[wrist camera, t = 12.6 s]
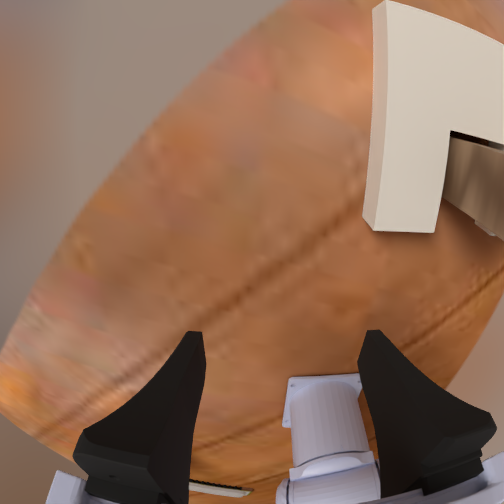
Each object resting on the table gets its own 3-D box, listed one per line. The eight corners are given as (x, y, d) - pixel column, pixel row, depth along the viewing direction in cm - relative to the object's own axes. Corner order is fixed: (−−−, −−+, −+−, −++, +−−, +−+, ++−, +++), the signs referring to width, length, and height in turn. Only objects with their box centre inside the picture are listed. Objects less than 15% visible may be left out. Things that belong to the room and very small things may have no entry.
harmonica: (173, 478, 45) (171, 486, 43) (174, 473, 43) (173, 482, 42) (247, 490, 47) (247, 498, 45) (252, 486, 45) (252, 495, 44)
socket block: (507, 226, 21) (523, 237, 19) (362, 216, 21) (373, 230, 19) (526, 68, 14) (545, 69, 12) (371, 9, 14) (385, -1, 12)
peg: (473, 196, 20) (546, 245, 12) (432, 191, 20) (506, 243, 12) (481, 144, 18) (563, 176, 10) (439, 134, 18) (524, 162, 10)
